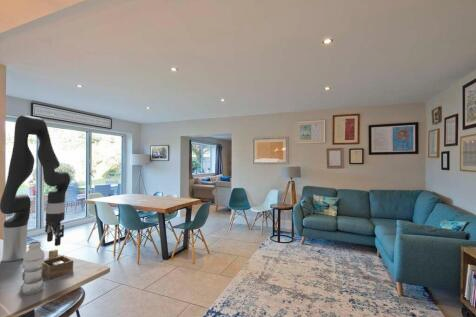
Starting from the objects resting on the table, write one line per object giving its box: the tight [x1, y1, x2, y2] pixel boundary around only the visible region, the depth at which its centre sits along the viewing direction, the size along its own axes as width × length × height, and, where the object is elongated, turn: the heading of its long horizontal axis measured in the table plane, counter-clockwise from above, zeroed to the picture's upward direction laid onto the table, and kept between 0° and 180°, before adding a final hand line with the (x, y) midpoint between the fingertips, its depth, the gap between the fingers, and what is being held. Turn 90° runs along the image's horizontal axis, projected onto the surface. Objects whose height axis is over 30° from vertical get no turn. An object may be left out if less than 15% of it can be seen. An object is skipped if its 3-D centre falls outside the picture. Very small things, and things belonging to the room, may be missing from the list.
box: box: [42, 255, 74, 280], centre depth 110 cm, size 10×9×6 cm
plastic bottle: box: [21, 241, 45, 296], centre depth 94 cm, size 6×7×20 cm
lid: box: [43, 249, 61, 261], centre depth 118 cm, size 11×10×7 cm
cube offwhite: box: [52, 260, 64, 266], centre depth 112 cm, size 4×4×4 cm
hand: (53, 243), depth 119 cm, fingers open, 8 cm apart
